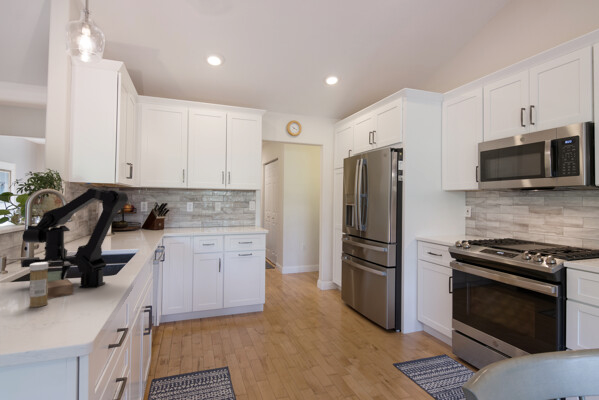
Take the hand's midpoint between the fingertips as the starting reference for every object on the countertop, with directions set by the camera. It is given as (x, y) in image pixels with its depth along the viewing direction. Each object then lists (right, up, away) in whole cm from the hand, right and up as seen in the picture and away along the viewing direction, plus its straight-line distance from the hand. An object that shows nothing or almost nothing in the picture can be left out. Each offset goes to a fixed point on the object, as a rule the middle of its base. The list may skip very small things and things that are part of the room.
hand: (54, 282), depth 121 cm
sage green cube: (0, -1, 0) cm, 1 cm away
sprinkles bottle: (+13, -1, -23) cm, 26 cm away
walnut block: (+8, -1, -11) cm, 14 cm away
